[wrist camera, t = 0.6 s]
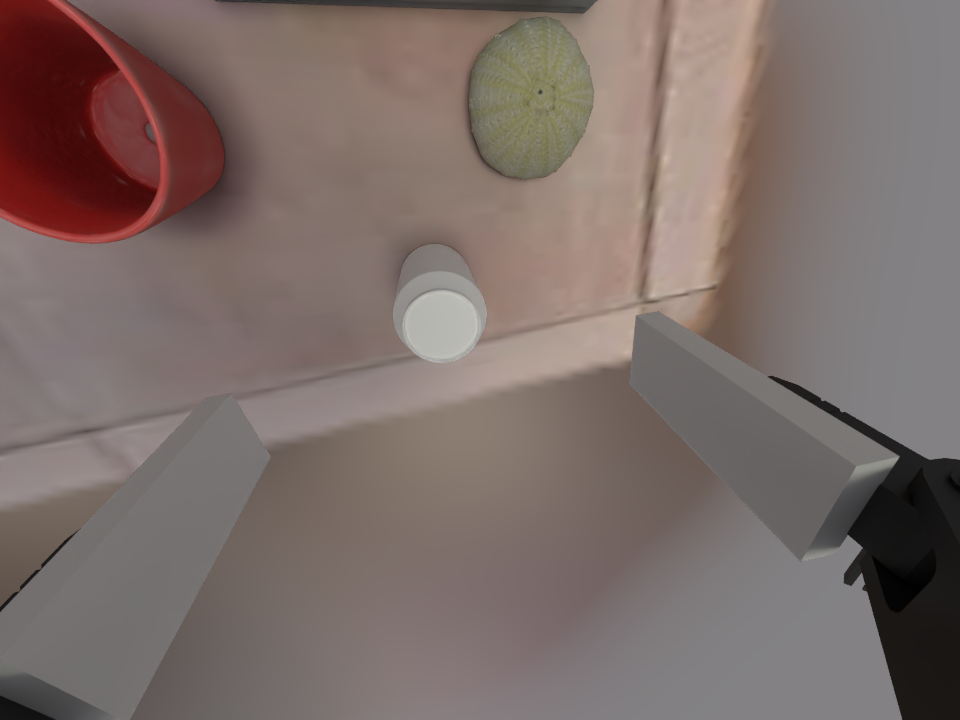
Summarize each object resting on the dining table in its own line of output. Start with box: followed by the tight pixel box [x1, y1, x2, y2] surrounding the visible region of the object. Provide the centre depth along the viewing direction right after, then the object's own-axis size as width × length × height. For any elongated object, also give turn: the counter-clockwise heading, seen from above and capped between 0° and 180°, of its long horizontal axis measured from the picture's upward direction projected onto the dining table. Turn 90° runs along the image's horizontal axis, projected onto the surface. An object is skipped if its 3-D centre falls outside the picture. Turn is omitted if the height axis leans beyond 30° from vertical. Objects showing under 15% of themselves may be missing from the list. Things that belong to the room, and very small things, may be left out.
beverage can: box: [393, 244, 487, 363], centre depth 26 cm, size 6×6×12 cm
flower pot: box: [0, 0, 224, 243], centre depth 20 cm, size 11×11×10 cm
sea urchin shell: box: [468, 16, 594, 180], centre depth 25 cm, size 9×8×8 cm
